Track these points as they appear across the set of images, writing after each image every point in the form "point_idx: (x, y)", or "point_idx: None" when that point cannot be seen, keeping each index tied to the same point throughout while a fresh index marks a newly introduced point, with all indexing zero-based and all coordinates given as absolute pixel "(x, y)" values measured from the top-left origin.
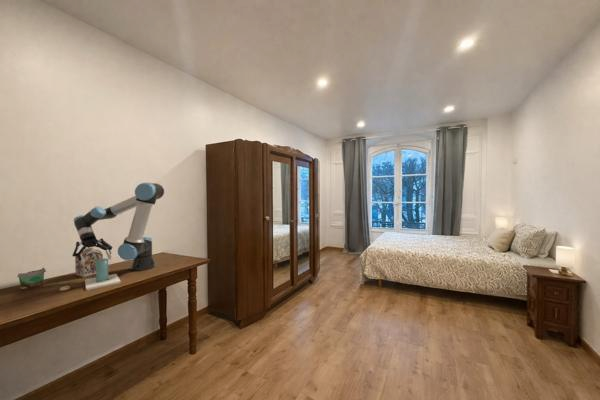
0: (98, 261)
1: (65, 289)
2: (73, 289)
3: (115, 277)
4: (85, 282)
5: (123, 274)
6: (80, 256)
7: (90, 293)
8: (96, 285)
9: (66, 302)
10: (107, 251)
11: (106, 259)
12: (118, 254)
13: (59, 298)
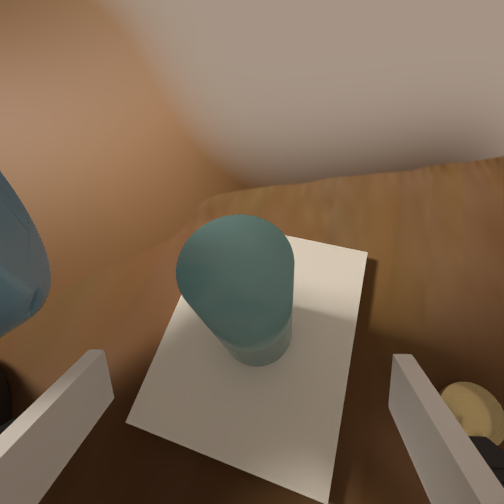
0: (281, 233)
1: (464, 383)
2: (417, 348)
3: (186, 318)
4: (343, 394)
5: None
6: (493, 493)
7: (359, 198)
8: (315, 255)
9: (453, 171)
10: (16, 443)
11: (202, 237)
12: (26, 296)
13: (485, 247)
